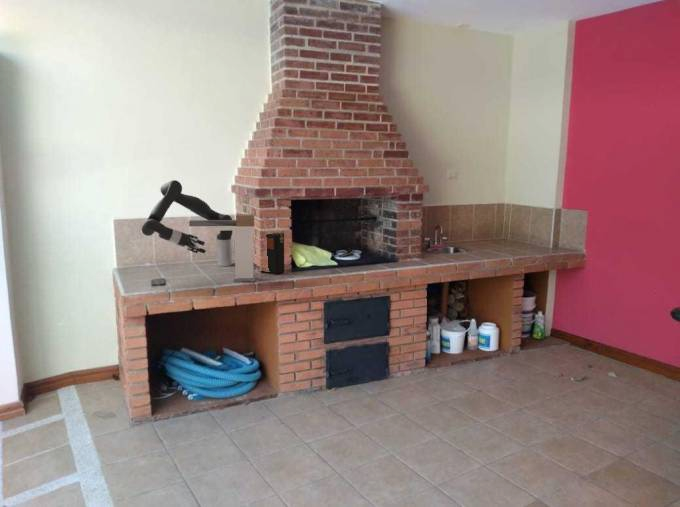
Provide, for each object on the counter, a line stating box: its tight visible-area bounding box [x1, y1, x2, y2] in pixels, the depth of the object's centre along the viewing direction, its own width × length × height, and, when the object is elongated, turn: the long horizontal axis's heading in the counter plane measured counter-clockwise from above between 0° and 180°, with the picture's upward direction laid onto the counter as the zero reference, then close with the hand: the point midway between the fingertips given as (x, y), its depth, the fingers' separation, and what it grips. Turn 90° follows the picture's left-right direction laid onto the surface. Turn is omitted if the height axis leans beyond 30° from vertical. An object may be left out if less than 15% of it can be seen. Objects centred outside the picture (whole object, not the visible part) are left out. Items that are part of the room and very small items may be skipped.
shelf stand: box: [210, 225, 256, 283], centre depth 312 cm, size 10×24×32 cm, turn 98°
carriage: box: [188, 213, 255, 227], centre depth 308 cm, size 7×36×6 cm, turn 98°
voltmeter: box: [266, 232, 285, 275], centre depth 334 cm, size 16×9×25 cm, turn 59°
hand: (204, 247), depth 315 cm, fingers open, 8 cm apart
